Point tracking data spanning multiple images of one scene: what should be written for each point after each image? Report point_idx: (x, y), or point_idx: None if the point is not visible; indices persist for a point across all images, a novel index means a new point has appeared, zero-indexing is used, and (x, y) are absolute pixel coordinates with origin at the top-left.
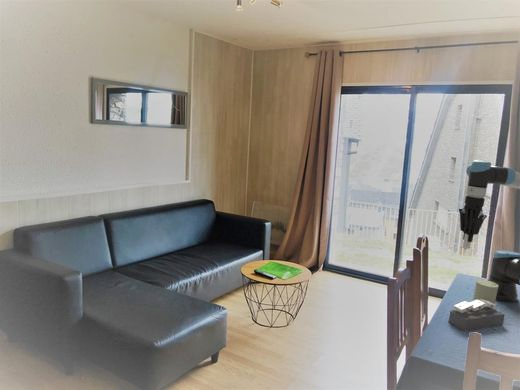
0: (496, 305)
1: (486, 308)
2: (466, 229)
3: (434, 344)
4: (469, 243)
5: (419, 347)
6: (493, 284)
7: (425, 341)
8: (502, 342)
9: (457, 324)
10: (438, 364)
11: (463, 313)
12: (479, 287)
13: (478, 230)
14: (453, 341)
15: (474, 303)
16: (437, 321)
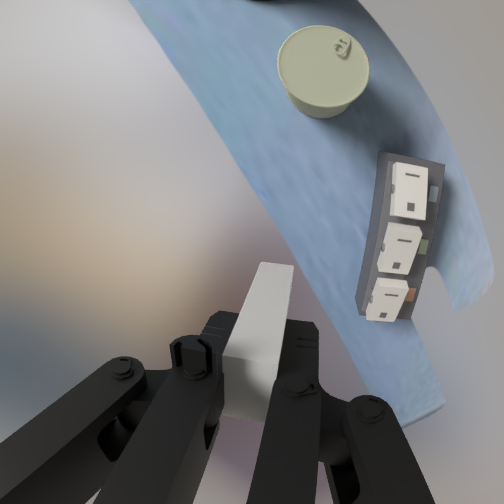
0: (427, 169)
1: None
2: (207, 456)
3: (393, 392)
4: (288, 304)
5: None
6: (340, 47)
7: None
8: (470, 260)
9: None
10: (422, 418)
11: None
12: (321, 108)
13: (405, 472)
14: (409, 357)
15: (397, 255)
16: (341, 322)
